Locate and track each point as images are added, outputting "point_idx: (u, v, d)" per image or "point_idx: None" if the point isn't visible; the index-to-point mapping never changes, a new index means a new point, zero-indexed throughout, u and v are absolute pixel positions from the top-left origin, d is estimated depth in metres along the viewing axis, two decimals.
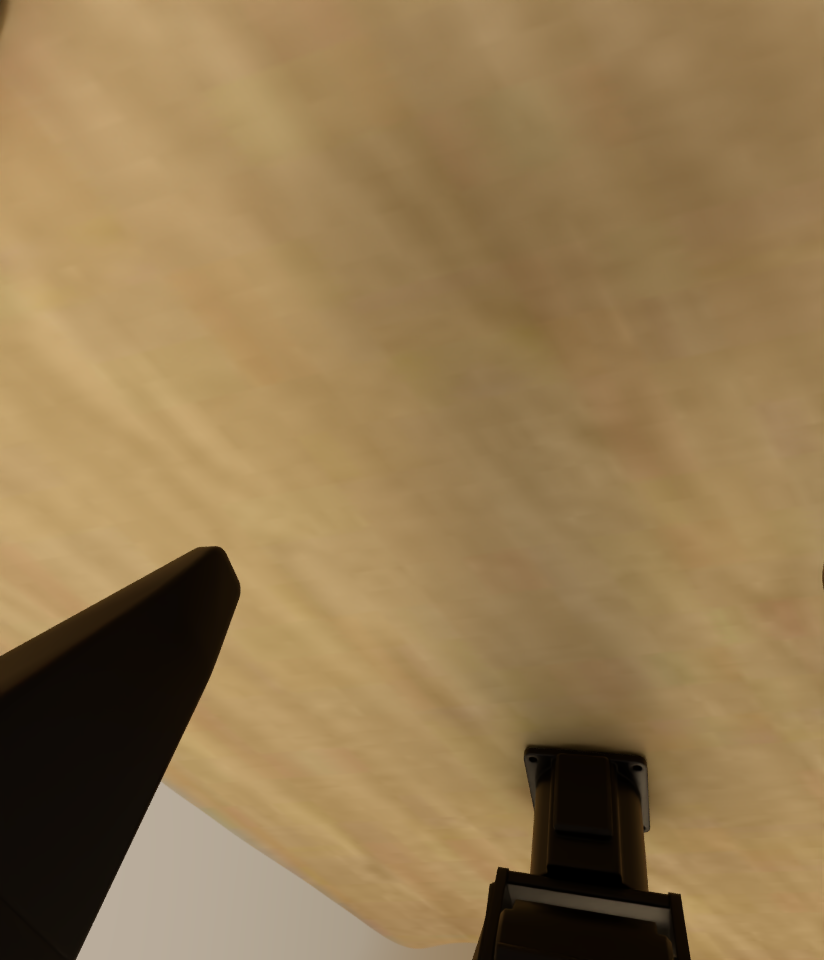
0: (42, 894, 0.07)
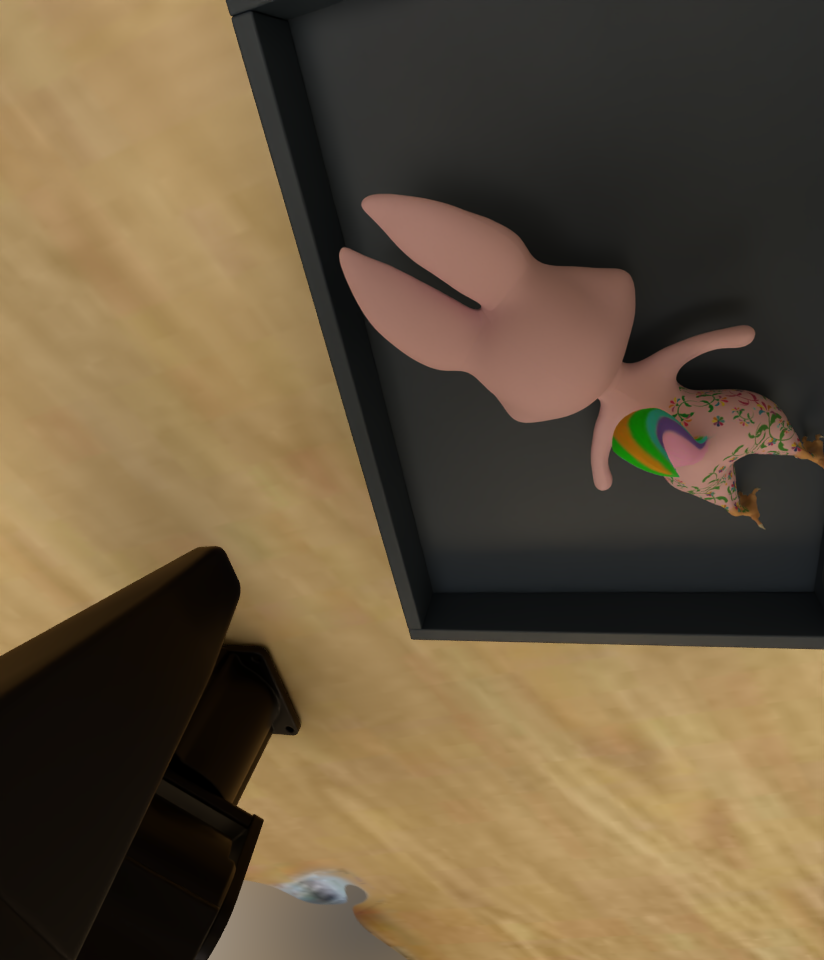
0: (42, 894, 0.07)
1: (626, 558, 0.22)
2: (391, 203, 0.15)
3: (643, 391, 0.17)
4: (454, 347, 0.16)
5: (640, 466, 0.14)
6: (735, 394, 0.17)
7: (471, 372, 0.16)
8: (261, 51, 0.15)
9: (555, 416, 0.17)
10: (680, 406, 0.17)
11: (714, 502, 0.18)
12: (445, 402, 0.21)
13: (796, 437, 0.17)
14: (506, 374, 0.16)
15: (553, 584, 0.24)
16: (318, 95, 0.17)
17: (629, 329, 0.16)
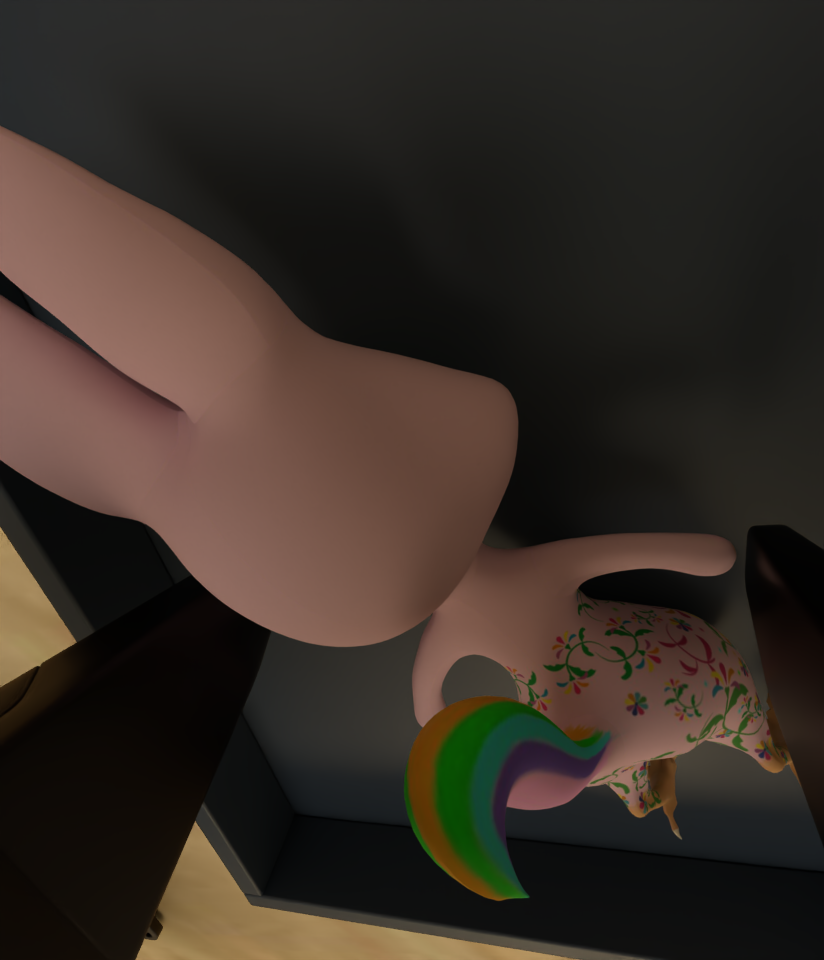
0: (98, 905, 0.07)
1: (570, 804, 0.14)
2: None
3: (509, 612, 0.09)
4: (111, 484, 0.07)
5: None
6: (675, 640, 0.09)
7: (159, 532, 0.08)
8: None
9: None
10: (574, 651, 0.09)
11: (607, 784, 0.11)
12: None
13: (765, 728, 0.09)
14: (206, 572, 0.07)
15: None
16: None
17: (491, 511, 0.07)
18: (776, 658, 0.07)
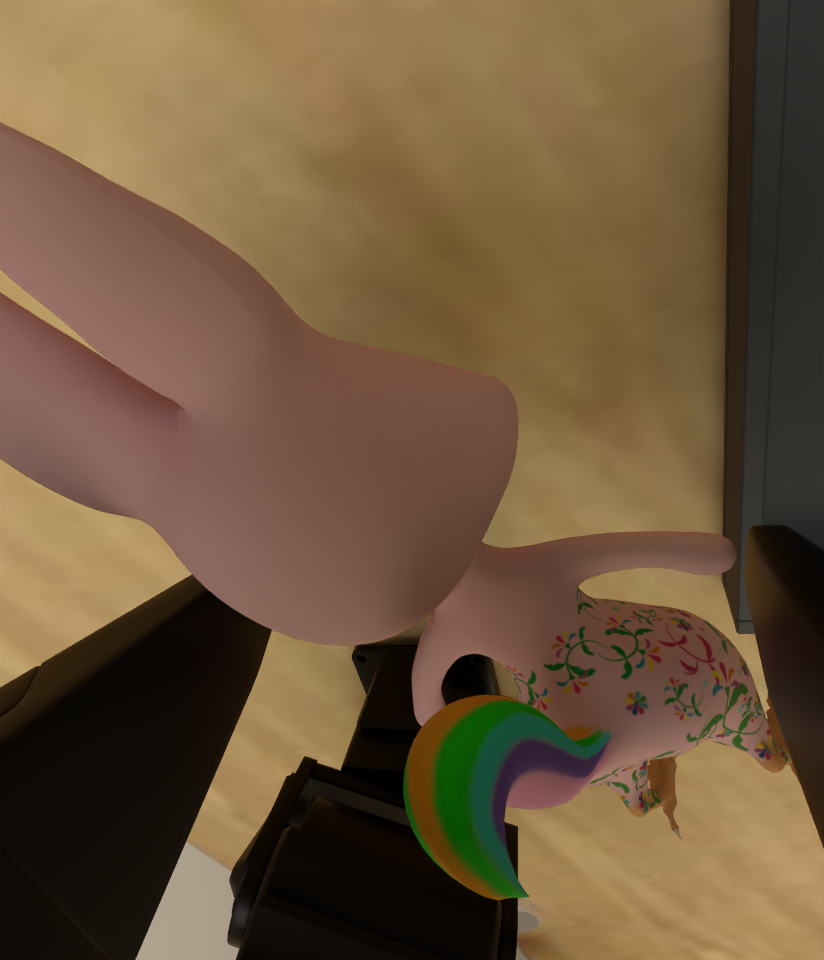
0: (98, 905, 0.07)
1: None
2: None
3: (509, 611, 0.09)
4: (110, 482, 0.07)
5: None
6: (676, 639, 0.09)
7: (158, 531, 0.08)
8: None
9: None
10: (573, 650, 0.09)
11: (607, 783, 0.11)
12: None
13: (766, 728, 0.09)
14: (205, 570, 0.07)
15: None
16: None
17: (491, 509, 0.07)
18: (776, 658, 0.07)
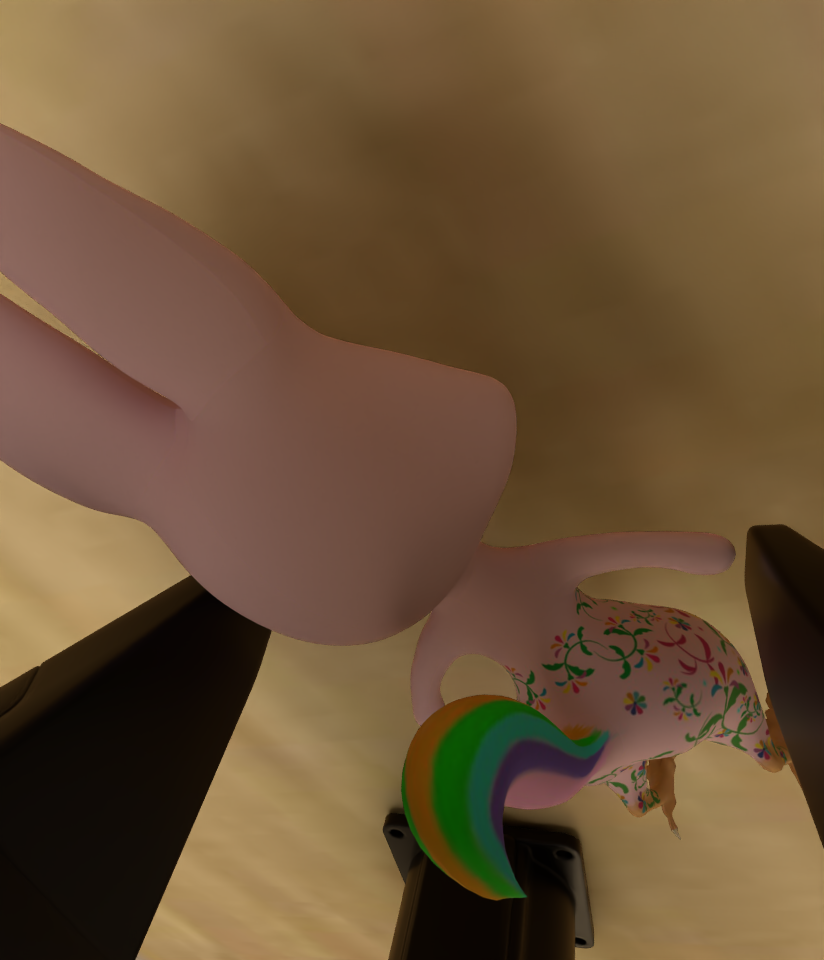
0: (98, 905, 0.07)
1: None
2: None
3: (508, 611, 0.09)
4: (108, 482, 0.07)
5: None
6: (674, 639, 0.09)
7: (156, 531, 0.08)
8: None
9: None
10: (572, 650, 0.09)
11: (606, 783, 0.11)
12: None
13: (765, 728, 0.09)
14: (203, 570, 0.07)
15: None
16: None
17: (489, 509, 0.07)
18: (775, 658, 0.07)
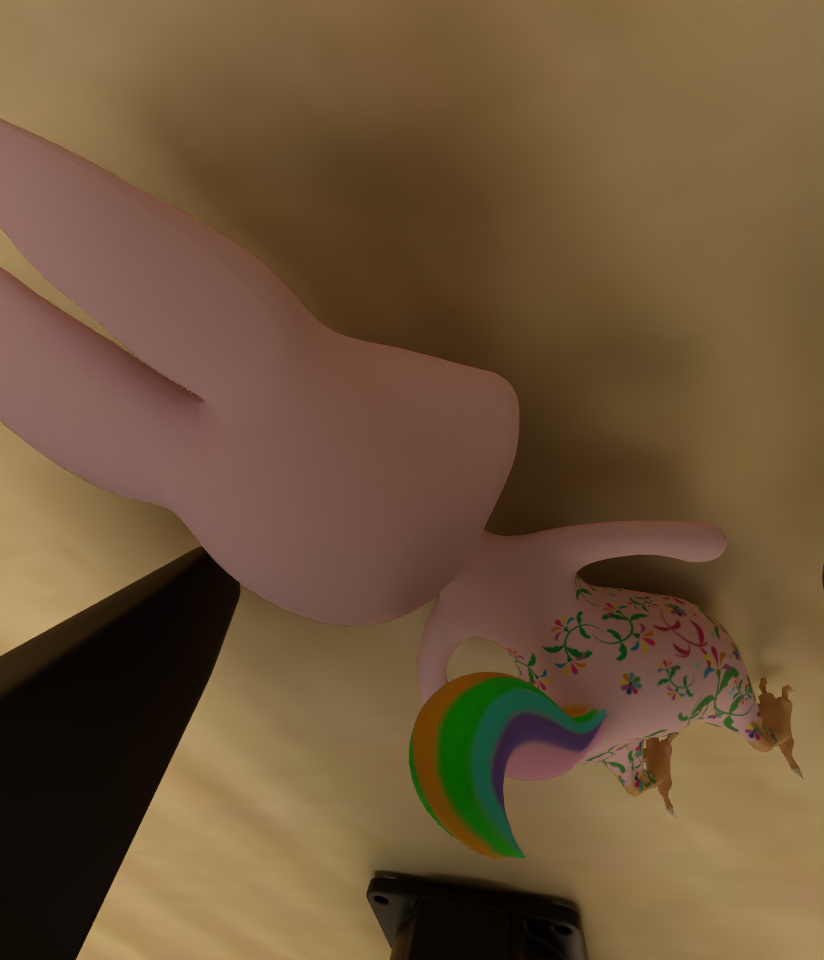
0: (42, 894, 0.07)
1: None
2: None
3: (510, 595, 0.09)
4: (137, 470, 0.08)
5: None
6: (669, 624, 0.09)
7: (180, 517, 0.08)
8: None
9: None
10: (571, 633, 0.09)
11: (604, 764, 0.11)
12: None
13: (756, 710, 0.10)
14: (225, 553, 0.07)
15: None
16: None
17: (493, 498, 0.08)
18: None
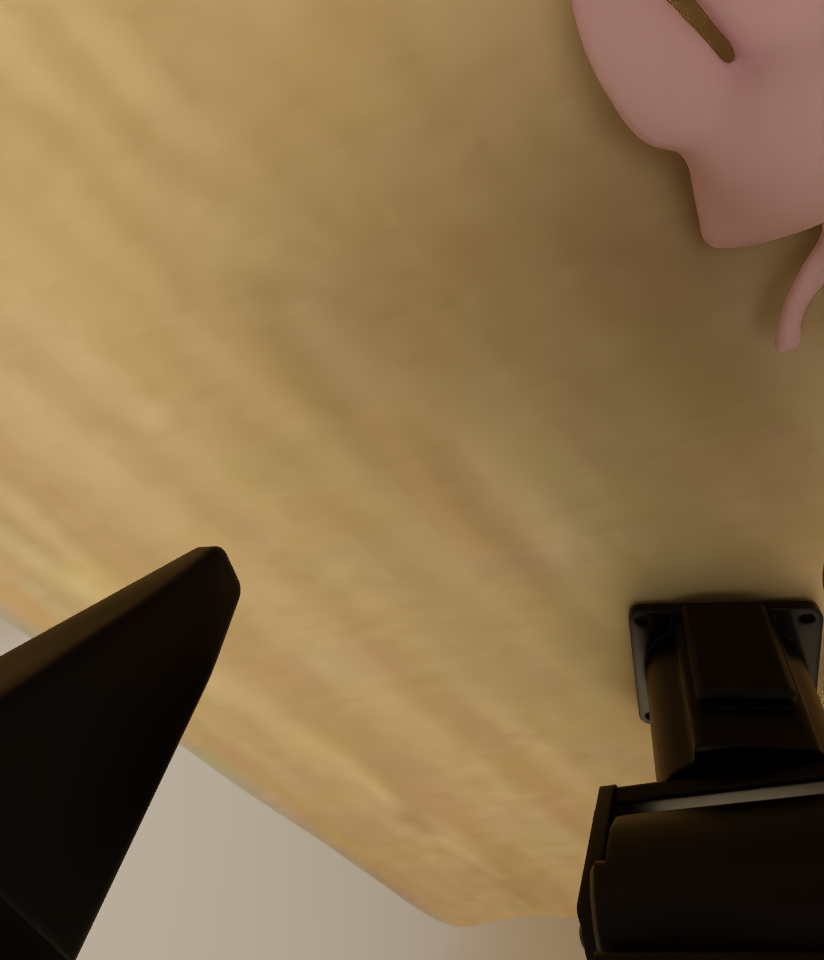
0: (42, 894, 0.07)
1: None
2: None
3: None
4: (693, 105, 0.12)
5: None
6: None
7: (698, 149, 0.13)
8: None
9: (787, 226, 0.13)
10: None
11: None
12: None
13: None
14: (761, 145, 0.12)
15: None
16: None
17: None
18: None
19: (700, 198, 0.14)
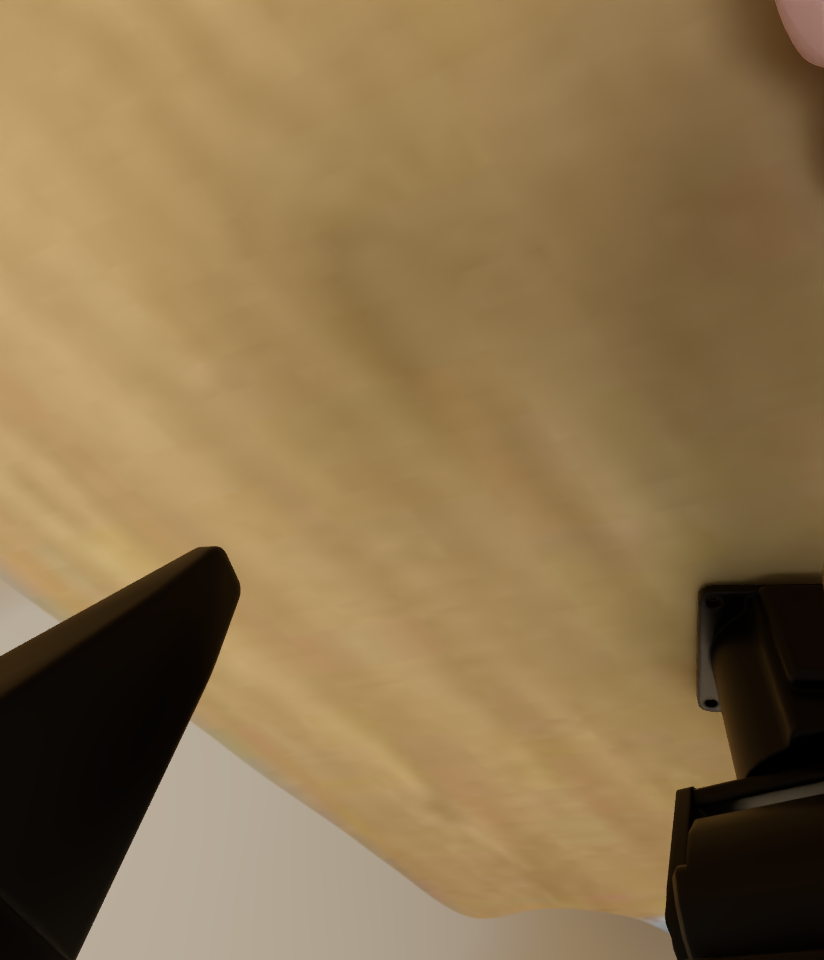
0: (42, 894, 0.07)
1: None
2: None
3: None
4: None
5: None
6: None
7: None
8: None
9: None
10: None
11: None
12: None
13: None
14: None
15: None
16: None
17: None
18: None
19: None
